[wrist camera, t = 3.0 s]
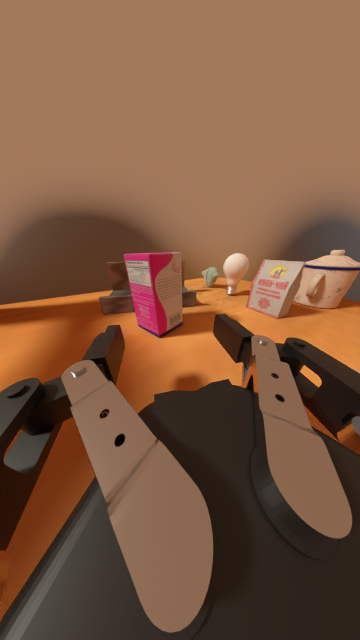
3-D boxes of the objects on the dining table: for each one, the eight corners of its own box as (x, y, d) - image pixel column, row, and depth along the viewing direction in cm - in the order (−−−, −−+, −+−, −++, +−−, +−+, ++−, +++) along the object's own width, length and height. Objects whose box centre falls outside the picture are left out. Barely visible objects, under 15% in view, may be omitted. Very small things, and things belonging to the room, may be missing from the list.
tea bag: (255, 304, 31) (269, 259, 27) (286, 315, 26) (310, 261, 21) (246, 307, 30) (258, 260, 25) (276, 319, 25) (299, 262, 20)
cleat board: (104, 314, 27) (89, 268, 22) (116, 295, 38) (108, 262, 33) (195, 305, 30) (197, 265, 26) (182, 291, 42) (182, 260, 37)
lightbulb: (246, 295, 38) (256, 253, 32) (234, 299, 34) (244, 253, 29) (227, 290, 42) (233, 252, 37) (215, 294, 38) (220, 253, 33)
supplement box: (161, 315, 26) (155, 252, 21) (183, 324, 23) (184, 252, 18) (136, 326, 22) (122, 252, 17) (159, 339, 19) (150, 252, 14)
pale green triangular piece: (198, 285, 49) (200, 266, 45) (207, 284, 50) (209, 265, 47) (212, 290, 42) (215, 268, 39) (222, 288, 44) (225, 267, 41)
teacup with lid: (296, 294, 38) (316, 250, 32) (342, 304, 31) (376, 249, 26) (278, 303, 32) (298, 250, 26) (329, 316, 25) (371, 249, 20)
